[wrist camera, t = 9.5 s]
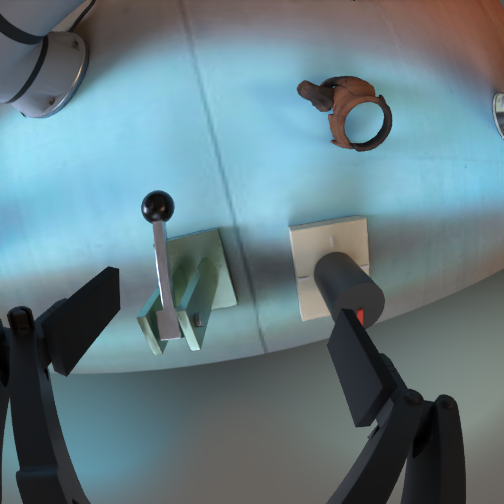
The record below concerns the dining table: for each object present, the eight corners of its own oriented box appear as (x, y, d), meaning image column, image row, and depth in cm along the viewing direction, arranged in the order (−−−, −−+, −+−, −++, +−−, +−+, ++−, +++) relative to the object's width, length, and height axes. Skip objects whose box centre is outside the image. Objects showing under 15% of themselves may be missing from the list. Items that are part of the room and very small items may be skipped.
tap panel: (288, 226, 35) (291, 231, 32) (359, 214, 34) (367, 218, 32) (299, 312, 39) (302, 321, 36) (363, 298, 38) (369, 307, 36)
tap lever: (149, 202, 29) (134, 190, 26) (177, 194, 29) (165, 180, 25) (166, 337, 26) (151, 342, 23) (198, 333, 26) (186, 337, 22)
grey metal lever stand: (155, 241, 36) (105, 288, 22) (218, 227, 35) (195, 270, 21) (179, 311, 39) (150, 379, 25) (238, 300, 38) (231, 372, 24)
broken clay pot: (373, 84, 29) (409, 103, 23) (350, 139, 35) (378, 167, 30) (295, 54, 25) (322, 64, 20) (274, 119, 32) (293, 145, 27)
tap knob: (311, 256, 34) (331, 290, 24) (354, 248, 33) (387, 278, 24) (315, 296, 35) (334, 339, 26) (355, 288, 35) (384, 326, 26)
